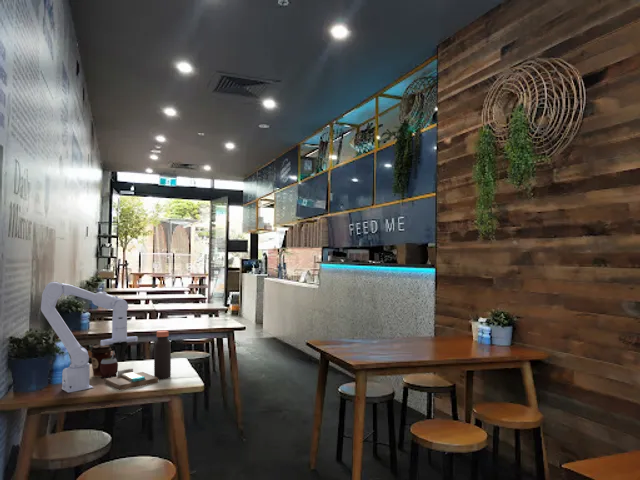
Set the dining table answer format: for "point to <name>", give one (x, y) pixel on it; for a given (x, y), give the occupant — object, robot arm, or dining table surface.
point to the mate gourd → (109, 367)
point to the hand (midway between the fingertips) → (119, 360)
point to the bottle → (162, 355)
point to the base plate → (126, 383)
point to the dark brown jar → (99, 357)
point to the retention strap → (133, 376)
